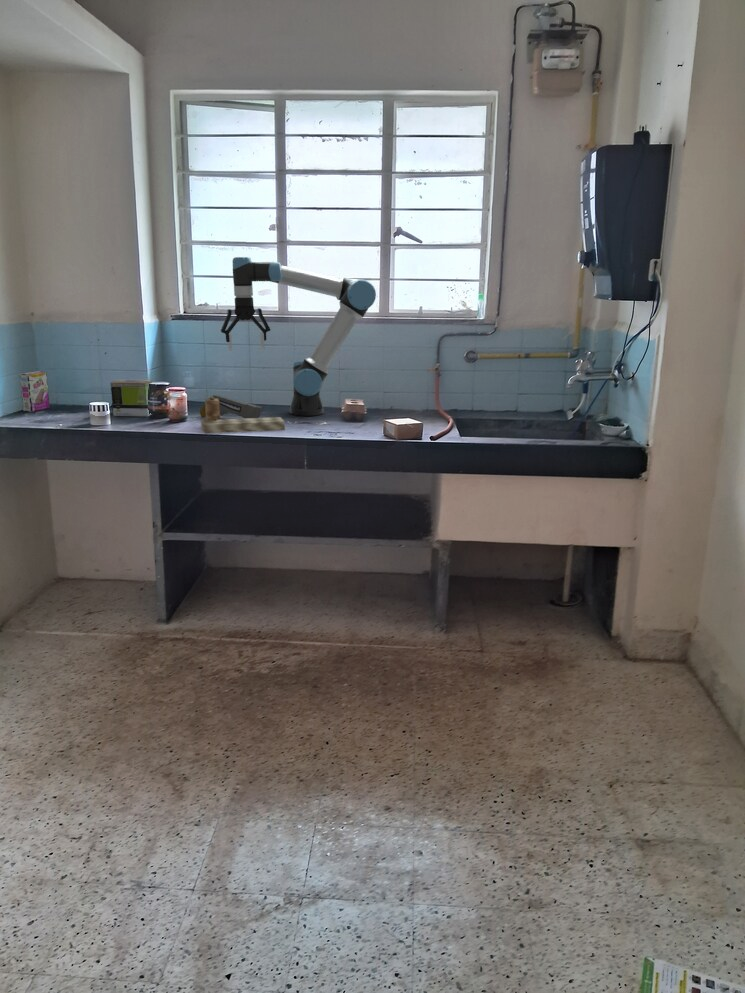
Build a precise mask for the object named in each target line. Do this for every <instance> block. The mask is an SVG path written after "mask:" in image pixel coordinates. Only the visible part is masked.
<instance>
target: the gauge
mask: <svg viewBox="0 0 745 993" xmlns="http://www.w3.org/2000/svg"><path fill="white" fill-rule="evenodd" d="M209 398H210V399H208V398H204V404H205V409H206V417H205V420H214V421H216V420H220V419H221V415H220V407H219V400H218V399H214V397H212V396H210V397H209Z"/></svg>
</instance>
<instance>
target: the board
mask: <svg viewBox="0 0 745 993" xmlns="http://www.w3.org/2000/svg"><path fill="white" fill-rule="evenodd" d="M285 424H286V423H285V420H284V419H283V418H282V417H281V416H276V417H275V416H274V417H259V418H224V419H221V418H220V420H216V421H214V420H206V419H201V420H200V427H201V431H202V433H203V434H204V435H206V434H226V433H247V432H248V433H250V432H252V433H253V432H267V431H268V432H269V431H272V432H274V431H285V430H286V429H285V428H286V426H285Z"/></svg>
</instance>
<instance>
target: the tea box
mask: <svg viewBox="0 0 745 993" xmlns="http://www.w3.org/2000/svg"><path fill="white" fill-rule="evenodd" d="M152 380H153V379H116V380H114V381H111V382H110V391H111V403H112V414H113V417H145V418H146V417H149V416H151V415H152V414H151V413H150V414H149V410H148V387H149V384H150V383H152V384H153V381H152Z"/></svg>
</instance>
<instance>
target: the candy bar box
mask: <svg viewBox="0 0 745 993" xmlns="http://www.w3.org/2000/svg"><path fill="white" fill-rule="evenodd" d="M19 380H20V381H19V382H20V383H19V384H20V391H21V401H22V403H21V404H22V409H23V412H26V413H34V412H39V411H44V410H48V409H50V398H49V397H50V396H49V389H48V388H49V387H48V385H49V384H48V375H47V371H43V370H42V371H40V370H38V371H31V372H25V373H24V372H23V373H19Z"/></svg>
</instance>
